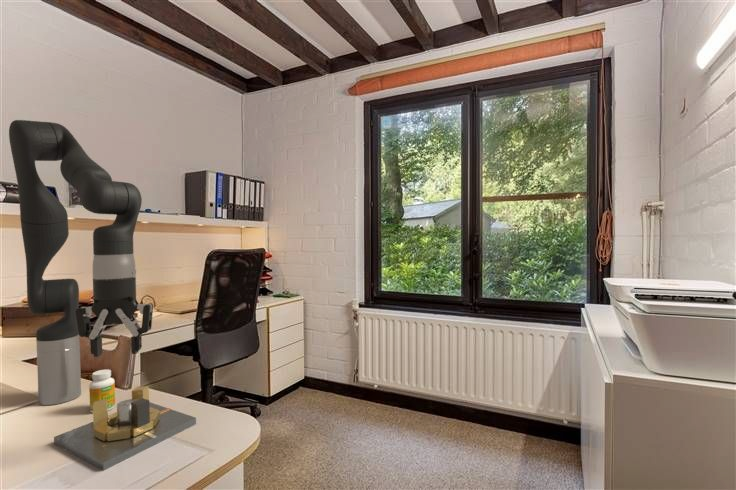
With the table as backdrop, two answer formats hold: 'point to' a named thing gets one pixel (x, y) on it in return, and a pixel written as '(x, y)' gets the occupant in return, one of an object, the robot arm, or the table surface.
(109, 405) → the supplement bottle
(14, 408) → the table surface
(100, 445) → the base plate
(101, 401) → the gold octagonal ring
